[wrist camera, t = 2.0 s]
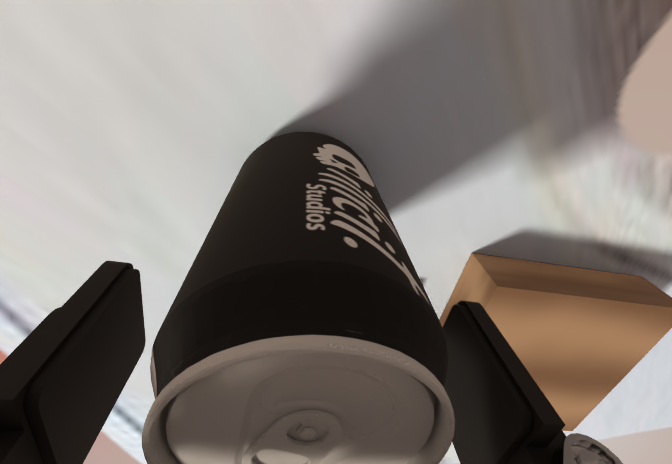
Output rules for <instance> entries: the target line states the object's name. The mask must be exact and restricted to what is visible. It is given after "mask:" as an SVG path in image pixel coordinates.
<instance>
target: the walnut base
mask: <svg viewBox="0 0 672 464" xmlns="http://www.w3.org/2000/svg"><path fill="white" fill-rule="evenodd" d="M459 301H471V302H478V303H480V304H481V305H482V306H483V308H484V309H485V311H486V312H487V313H488V315H489V316H490V318H491V319H492V321H493V322H494V323H495V325H496V326H497V328H498V329H499V331H500V332H501V333H502V335H503V336H504V338H505V339H506V341H507V342H508V343H509V345H510V346H511V348H512V349H513V351H514V352H515V353H516V355H517V356H518V358H519V359H520V361H521V362H522V363H523V365H524V366H525V368H526V369H527V371H528V372H529V373H530V375H531V376H532V378H533V379H534V381H535V382H536V383H537V385H538V386H539V388H540V389H541V391H542V392H543V393H544V395H545V396H546V398H547V399H548V401H549V402H550V403H551V405H552V406H553V408H554V409H555V411H556V412H557V414H558V415H559V416H560V418H561V419H562V421H563V422H564V424H565V427H564V428H563V429H562V431H573V430H574V429H575V428H576V427H577V426H578V425H579V424H580V423H581V421H582V420H583V419H584V418H585V417H586V416H587V415H588V414H589V413H590V412H591V411H592V410H593V409H594V408H595V407H596V406H597V405H598V404H599V403H600V402H601V401H602V400H603V399H604V398H605V397H606V396H607V394H608V393H609V392H610V391H611V390H612V389H613V388H614V387H615V386H616V385H617V384H618V383H619V382H620V381H621V380H622V379H623V378H624V377H625V376H626V375H627V374H628V373H629V372H630V371H631V370H632V368H633V367H634V366H635V365H636V364H637V363H638V362H639V361H640V360H641V359H642V358H643V357H644V356H645V355H646V354H647V353H648V352H649V351H650V350H651V349H652V348H653V347H654V346H655V345H656V344H657V342H658V341H659V340H660V339H661V338H662V337H663V336H664V335H665V334H666V333H667V332H668V331H669V330H670V329H671V328H672V298H671V297H670V296H669V295H667V294H666V293H664V292H663V291H661V290H660V289H659V288H657V287H656V286H654V285H653V284H652V283H650V282H649V281H647V280H646V279H644V278H643V277H640V276H633V275H626V274H618V273H611V272H604V271H597V270H590V269H582V268H575V267H568V266H561V265H554V264H547V263H539V262H532V261H525V260H518V259H511V258H503V257H496V256H489V255H482V254H475V253H471V256H470V258H469V260H468V262H467V264H466V266H465V268H464V270H463V272H462V274H461V276H460V278H459V280H458V282H457V285H456V287H455V289H454V291H453V293H452V295H451V297H450V299H449V301H448V303H447V305H446V307H445V309H444V311H443V313H442V316H441V318H440V320H439V321H440V323H441V325H442V327H443V325H444V323H445V321H446V319H447V317H448V314H449V312H450V310H451V308H452V306H453V305H455V304H457V303H458V302H459Z"/></svg>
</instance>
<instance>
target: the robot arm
mask: <svg viewBox="0 0 672 464" xmlns="http://www.w3.org/2000/svg"><path fill="white" fill-rule="evenodd" d="M442 328H443V330H444V333H445V336H446V342H447V351H448V367H447V374H446V379H445V384H444V389H445V391H446V393H447V395H448V397H449V399H450V402H451V405H452V408H453V412H454V418H455V430H454V436H453V439H452V442H453V445H454V448H455V450H456V453H457V455H458V458H459V461H460V463H461V464H623V463H622V462H621V461H620V460H619V458H618V457H617V456H616V455H614V454H613V453H612V452H611V451H610V450H609V449H608V448H606V447H605V446H604V445H602V444H601V443H599V442H598V441H596V440H594V439H592V438H590V437H588V436H586V435H582V434H578V433H576V434H570V435H568V436H567V437H566V436H565V434H564V433H563V431H562V429H563V428H564V427H565V424H564V422H563V421H562V419H561V418H560V416H559V415H558V414H557V412H556V411H555V409H554V408H553V406H552V405H551V403H550V402H549V401H548V399H547V398H546V396H545V395H544V393H543V392H542V391H541V389H540V388H539V386H538V385H537V383H536V382H535V381H534V379H533V378H532V376H531V375H530V373H529V372H528V371H527V369H526V368H525V366H524V365H523V363H522V362H521V361H520V359H519V358H518V356H517V355H516V353H515V352H514V351H513V349H512V348H511V346H510V345H509V343H508V342H507V341H506V339H505V338H504V336H503V335H502V333H501V332H500V331H499V329H498V328H497V326H496V325H495V323H494V322H493V321H492V319H491V318H490V316H489V315H488V313H487V312H486V311H485V309H484V308H483V306H482V305H481V304H480V303H478V302H471V301H459V302H458V303H457V304H455V305H453V306H452V308H451V310H450V312H449V314H448V317H447V319H446V321H445V323H444V325H443V327H442ZM144 347H145V328H144V317H143V305H142V294H141V282H140V273H139V270H137V269H133V266H132V264H130V263H124V262H115V261H106V262H104V263H103V264H102V265H101V266H100V267H99V268H98V269H97V270H96V271H95V272H94V273H93V275H92V276H91V277H90V278H89V279H88V280H87V281H86V282H85V283H84V284H83V285H82V286H81V287H80V288H79V289H78V290H77V291H76V292H75V293H74V294H73V295H72V297H71V298H70V299H69V300H68V301H67V302H66V303H65V304H64V305H63V306H62V307H60V308H57V309H55V310H54V311H52V312H51V313H50V314H49V315H48V316H47V317H46V318H45V319H44V320H43V321H42V322H41V323H40V324H39V325H38V326H37V327H36V328H35V329H34V330H33V331H32V332H31V334H30V335H29V336H28V337H27V338H26V339H25V340H24V341H23V342H22V343H21V344H20V345H19V346H18V347H17V348H16V349H15V350H14V351H13V352H12V353H11V354H10V355H9V356H8V357H7V358H6V359H5V360H4V361H3V362H2V363H1V364H0V464H83V462H84V460H85V459H86V457H87V455H88V453H89V451H90V449H91V447H92V445H93V444H94V442H95V440H96V438H97V436H98V434H99V433H100V431H101V429H102V427H103V425H104V423H105V421H106V420H107V418H108V416H109V414H110V412H111V410H112V408H113V407H114V405H115V403H116V401H117V399H118V397H119V395H120V394H121V392H122V390H123V388H124V386H125V384H126V382H127V381H128V379H129V377H130V375H131V373H132V371H133V370H134V368H135V366H136V364H137V362H138V360H139V358H140V357H141V355H142V353H143V350H144Z"/></svg>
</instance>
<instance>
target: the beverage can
mask: <svg viewBox="0 0 672 464" xmlns="http://www.w3.org/2000/svg"><path fill="white" fill-rule="evenodd" d="M447 367H448V351H447V342H446V336H445V333H444V330H443V328H442V325H441V323H440V321H439V319H438V317H437V315H436V313H435V310H434V308H433V306H432V304H431V302H430V300H429V298H428V296H427V294H426V291H425V289H424V287H423V285H422V283H421V281H420V279H419V277H418V275H417V272H416V270H415V268H414V266H413V264H412V262H411V260H410V258H409V256H408V254H407V251H406V249H405V247H404V245H403V243H402V241H401V239H400V237H399V235H398V232H397V230H396V228H395V226H394V224H393V222H392V220H391V218H390V216H389V213H388V211H387V209H386V207H385V205H384V203H383V201H382V199H381V197H380V194H379V192H378V190H377V188H376V186H375V184H374V182H373V180H372V178H371V175H370V173H369V171H368V169H367V167H366V166H365V164H364V162H363V161H362V160H361V158H360V157H359V156H358V155H357V154H356V153H355V152H354V151H353V150H352V149H351V148H350V147H348V146H347V145H345V144H344V143H342V142H341V141H339V140H337V139H335V138H332V137H330V136H327V135H323V134H319V133H313V132H294V133H288V134H284V135H280V136H278V137H275V138H273V139H271V140H269V141H267V142H265V143H264V144H262V145H261V146H259V147H258V148H257V149H256V150H255V151H254V152H253V153H252V154H251V155H250V156H249V157H248V158H247V160H246V161H245V163H244V164H243V166H242V168H241V170H240V172H239V174H238V175H237V177H236V179H235V181H234V183H233V185H232V187H231V189H230V191H229V193H228V195H227V197H226V199H225V201H224V203H223V205H222V207H221V209H220V211H219V213H218V215H217V217H216V219H215V221H214V223H213V225H212V227H211V229H210V231H209V233H208V235H207V237H206V239H205V241H204V243H203V245H202V247H201V249H200V251H199V253H198V255H197V257H196V259H195V261H194V262H193V264H192V266H191V268H190V270H189V272H188V274H187V276H186V278H185V280H184V282H183V284H182V286H181V288H180V290H179V292H178V294H177V296H176V298H175V300H174V302H173V304H172V306H171V308H170V310H169V312H168V314H167V316H166V318H165V320H164V322H163V324H162V326H161V328H160V330H159V332H158V334H157V336H156V339H155V342H154V344H153V349H152V357H151V366H150V370H151V381H152V386H153V391H154V396H155V401H154V403H153V405H152V407H151V409H150V411H149V413H148V415H147V418H146V421H145V424H144V428H143V433H142V448H143V452H144V456H145V459H146V461H147V463H148V464H438V463H439V462H440V461H441V460H442V458H443V457H444V455H445V454H446V452H447V451H448V449H449V447H450V445H451V442H452V439H453V436H454V430H455V418H454V412H453V408H452V405H451V402H450V399H449V397H448V395H447V393H446V391H445V389H444V384H445V379H446V374H447Z"/></svg>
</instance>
